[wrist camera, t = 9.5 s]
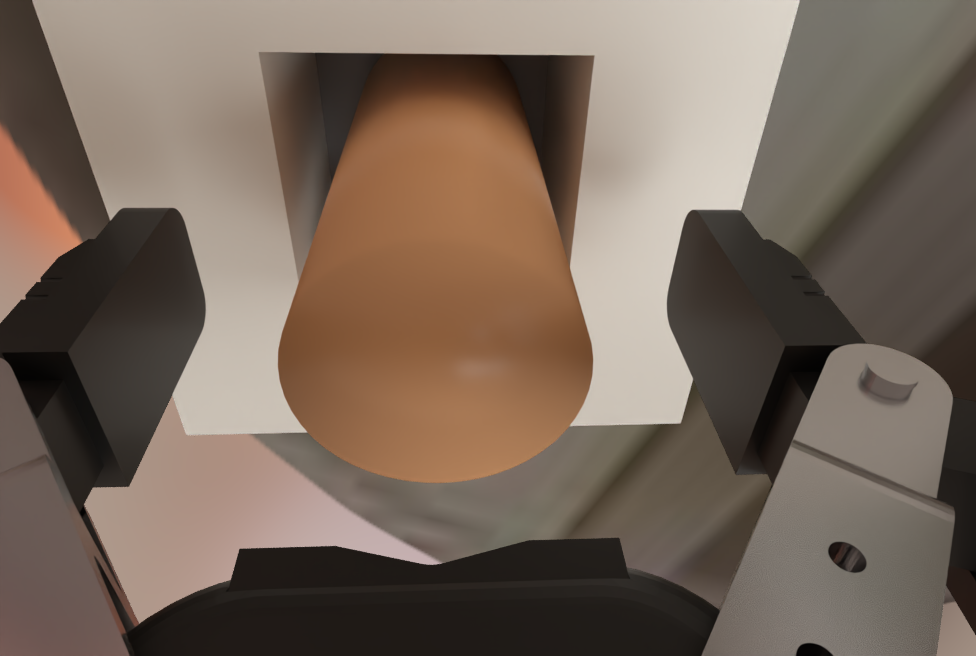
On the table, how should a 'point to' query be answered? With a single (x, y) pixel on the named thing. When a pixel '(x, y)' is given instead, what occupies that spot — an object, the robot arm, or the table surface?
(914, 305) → the table surface
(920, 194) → the table surface
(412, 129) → the plug
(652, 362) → the socket block
